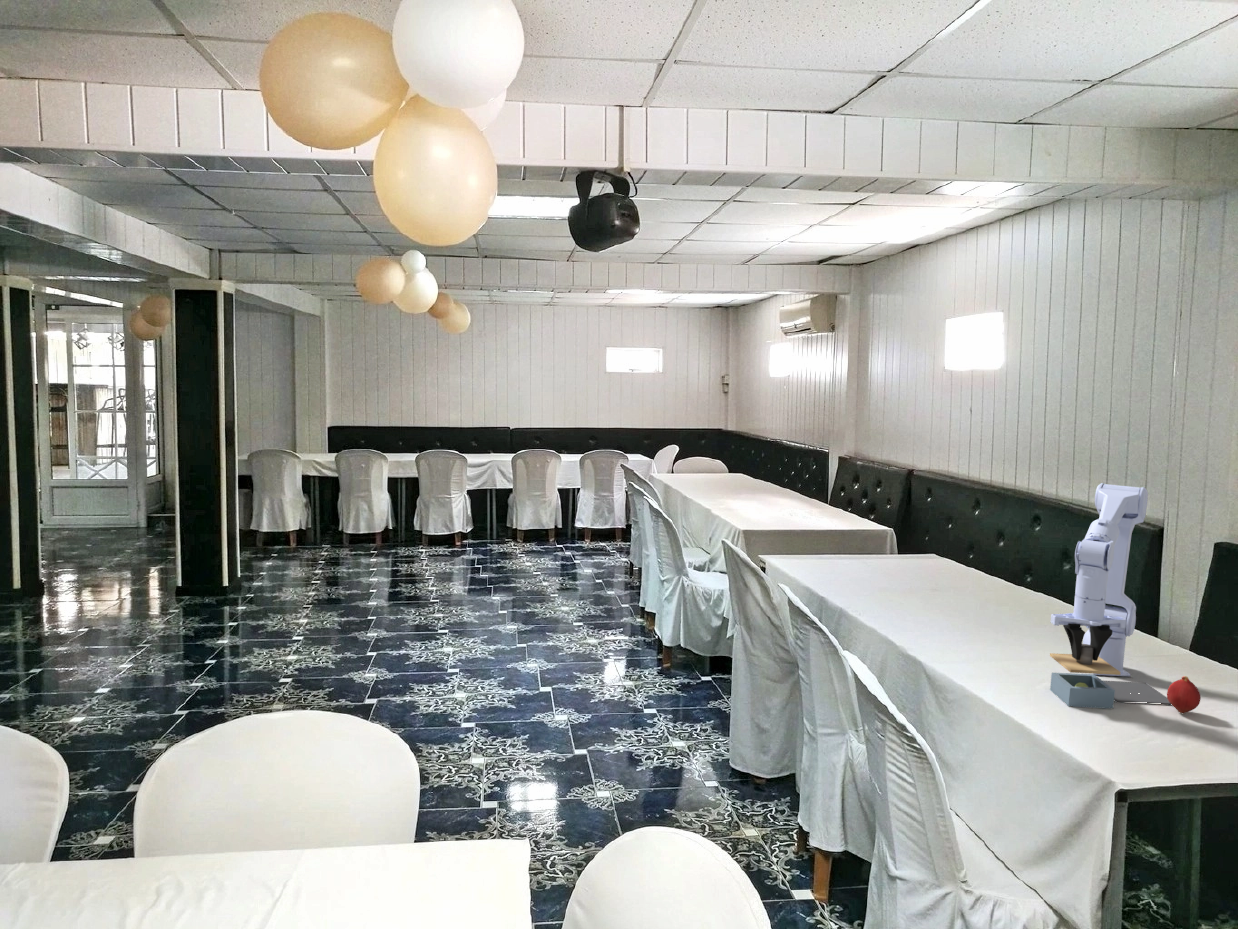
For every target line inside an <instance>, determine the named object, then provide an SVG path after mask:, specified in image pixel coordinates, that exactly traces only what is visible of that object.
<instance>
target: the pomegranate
mask: <svg viewBox="0 0 1238 929" xmlns="http://www.w3.org/2000/svg"><path fill="white" fill-rule="evenodd" d="M1166 697H1167V698H1168V701H1169V702H1170V703H1171V704H1172V705H1171V706H1172V707H1173V708H1174V709H1176V711H1177V712H1178V713H1179V712H1180V714H1182V713H1183V714H1186V713H1189V712H1191V711H1194V710H1195V709H1196V708H1198V707H1199V705H1200V703H1201V693H1200V690H1199V689H1198V687H1197V686H1196V685H1195V684H1194V682H1192V681H1191V680H1190V679H1189V677H1188V676H1185V675H1183V676H1181V679H1177V680H1175V681H1173V682H1172V683H1171V684H1169V686H1168V688H1167V692H1166Z"/></svg>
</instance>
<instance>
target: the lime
mask: <svg viewBox="0 0 1238 929" xmlns="http://www.w3.org/2000/svg"><path fill="white" fill-rule="evenodd" d="M1075 687H1088V686H1087V685H1086V684H1085V683H1081V682H1080V683H1077V684H1076V685H1075Z"/></svg>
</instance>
